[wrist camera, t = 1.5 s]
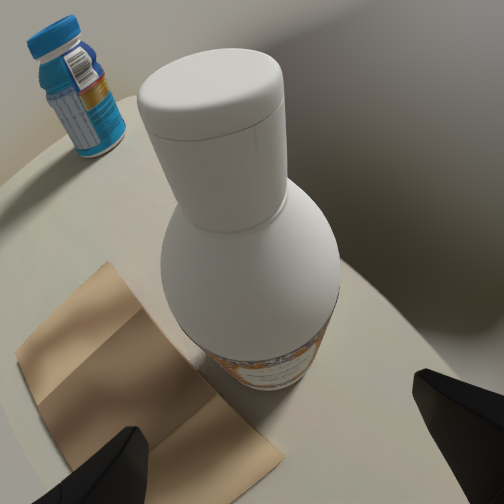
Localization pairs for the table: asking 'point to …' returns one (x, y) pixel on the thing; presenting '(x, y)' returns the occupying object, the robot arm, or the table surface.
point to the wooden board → (138, 397)
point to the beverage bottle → (77, 88)
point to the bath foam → (239, 218)
